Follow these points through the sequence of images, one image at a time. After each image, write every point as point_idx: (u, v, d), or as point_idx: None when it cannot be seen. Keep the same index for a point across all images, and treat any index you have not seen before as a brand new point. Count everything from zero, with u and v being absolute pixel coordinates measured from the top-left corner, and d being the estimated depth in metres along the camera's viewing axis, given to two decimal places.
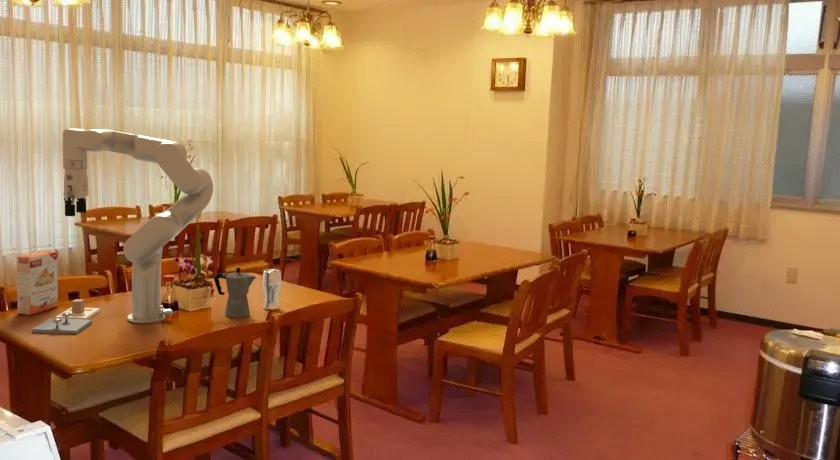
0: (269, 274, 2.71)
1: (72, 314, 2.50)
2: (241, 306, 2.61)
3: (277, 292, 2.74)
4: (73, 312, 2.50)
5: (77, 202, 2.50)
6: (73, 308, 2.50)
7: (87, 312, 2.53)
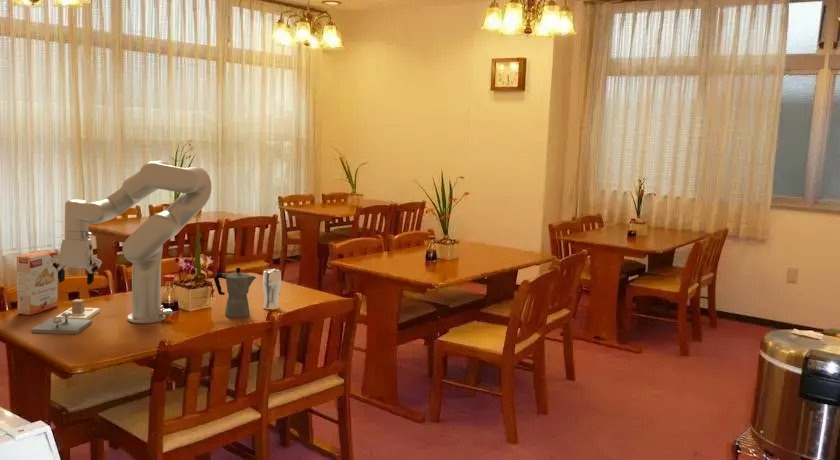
0: (269, 274, 2.71)
1: (72, 314, 2.50)
2: (241, 306, 2.61)
3: (277, 292, 2.74)
4: (73, 312, 2.50)
5: (61, 272, 2.48)
6: (73, 308, 2.50)
7: (87, 312, 2.53)
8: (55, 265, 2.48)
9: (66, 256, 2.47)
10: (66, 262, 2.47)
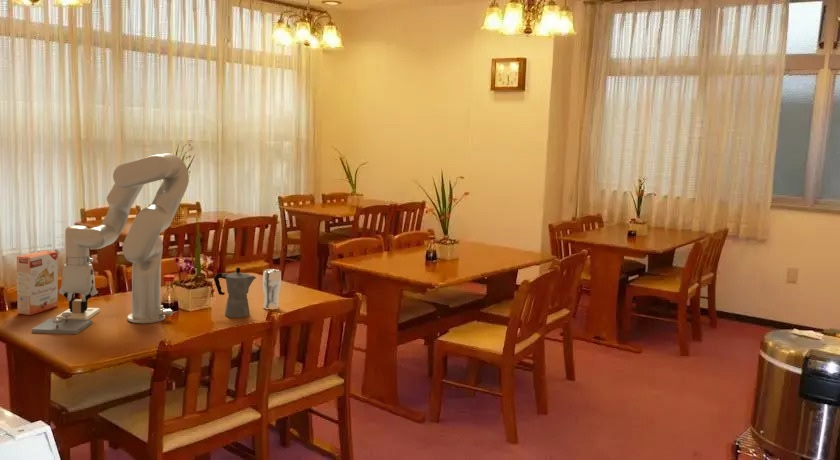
0: (269, 274, 2.71)
1: (72, 314, 2.50)
2: (241, 306, 2.61)
3: (277, 292, 2.74)
4: (73, 312, 2.50)
5: None
6: (73, 308, 2.50)
7: (87, 312, 2.53)
8: (66, 295, 2.50)
9: (67, 282, 2.48)
10: (68, 288, 2.48)
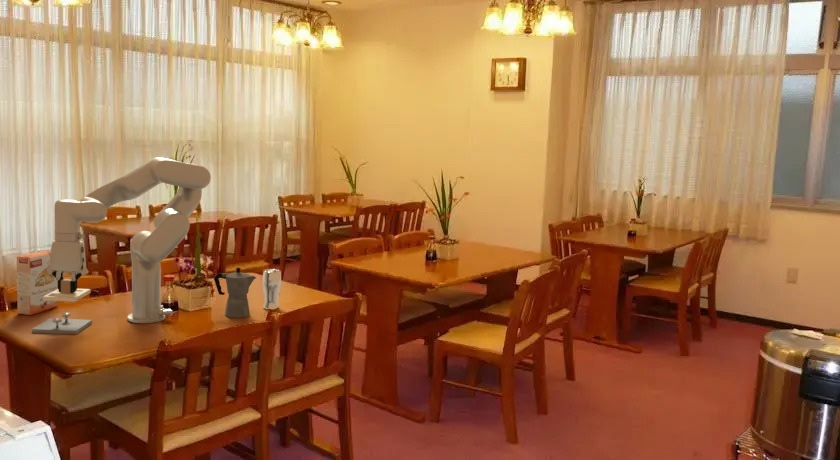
0: (269, 274, 2.71)
1: (61, 294, 2.34)
2: (241, 306, 2.61)
3: (277, 292, 2.74)
4: (62, 292, 2.34)
5: None
6: (62, 288, 2.34)
7: (77, 292, 2.36)
8: (54, 274, 2.34)
9: (56, 259, 2.32)
10: (57, 266, 2.32)
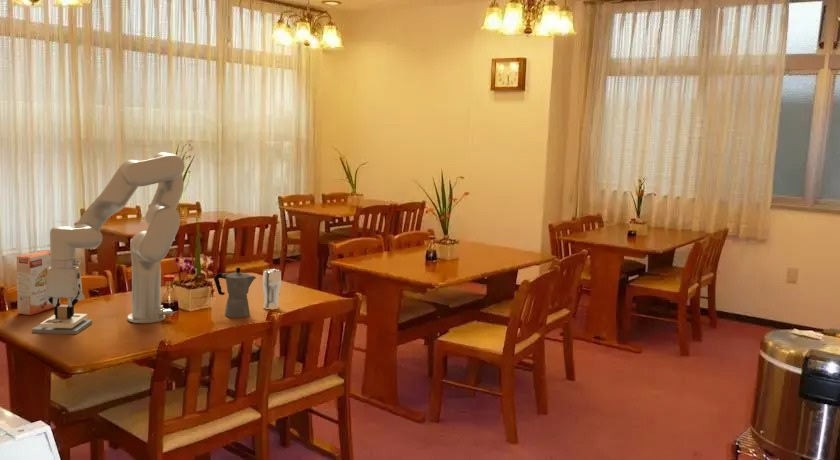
0: (269, 274, 2.71)
1: None
2: (241, 306, 2.61)
3: (277, 292, 2.74)
4: None
5: None
6: (59, 314, 2.35)
7: (74, 318, 2.38)
8: (51, 300, 2.35)
9: (52, 286, 2.33)
10: (53, 293, 2.33)
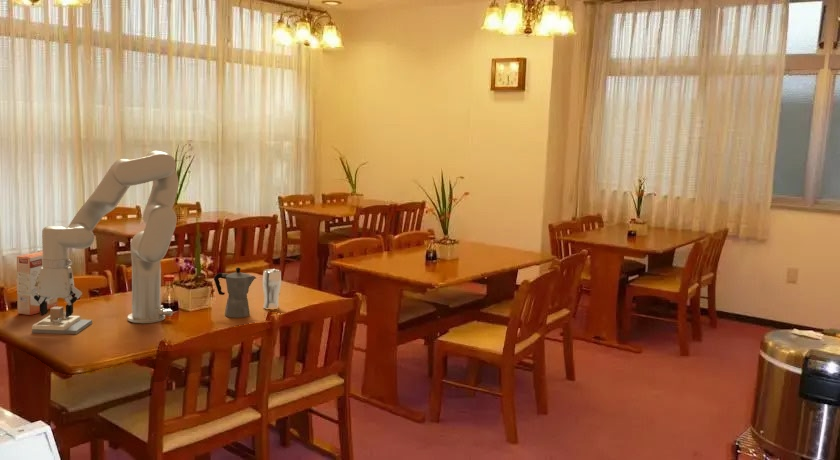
0: (269, 274, 2.71)
1: (50, 322, 2.35)
2: (241, 306, 2.61)
3: (277, 292, 2.74)
4: (51, 320, 2.35)
5: (43, 305, 2.35)
6: (51, 316, 2.35)
7: (66, 320, 2.38)
8: (36, 298, 2.35)
9: (45, 286, 2.33)
10: (45, 292, 2.33)
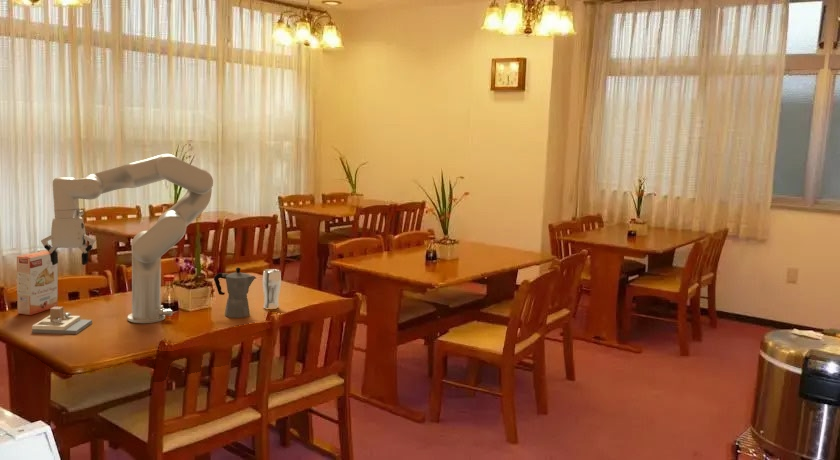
0: (269, 274, 2.71)
1: (50, 322, 2.35)
2: (241, 306, 2.61)
3: (277, 292, 2.74)
4: (51, 320, 2.35)
5: (54, 254, 2.38)
6: (51, 316, 2.35)
7: (66, 320, 2.38)
8: (47, 247, 2.38)
9: (57, 236, 2.36)
10: (58, 243, 2.37)
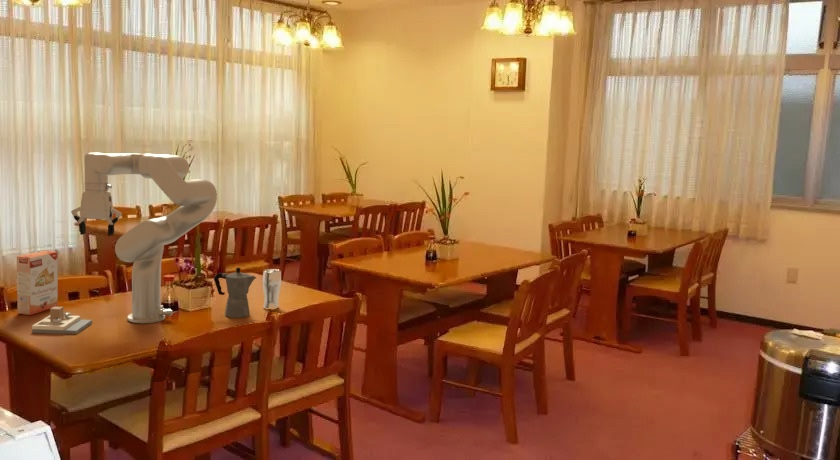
0: (269, 274, 2.71)
1: (50, 322, 2.35)
2: (241, 306, 2.61)
3: (277, 292, 2.74)
4: (51, 320, 2.35)
5: (82, 224, 2.53)
6: (51, 316, 2.35)
7: (66, 320, 2.38)
8: (76, 217, 2.53)
9: (86, 208, 2.51)
10: (87, 214, 2.52)
